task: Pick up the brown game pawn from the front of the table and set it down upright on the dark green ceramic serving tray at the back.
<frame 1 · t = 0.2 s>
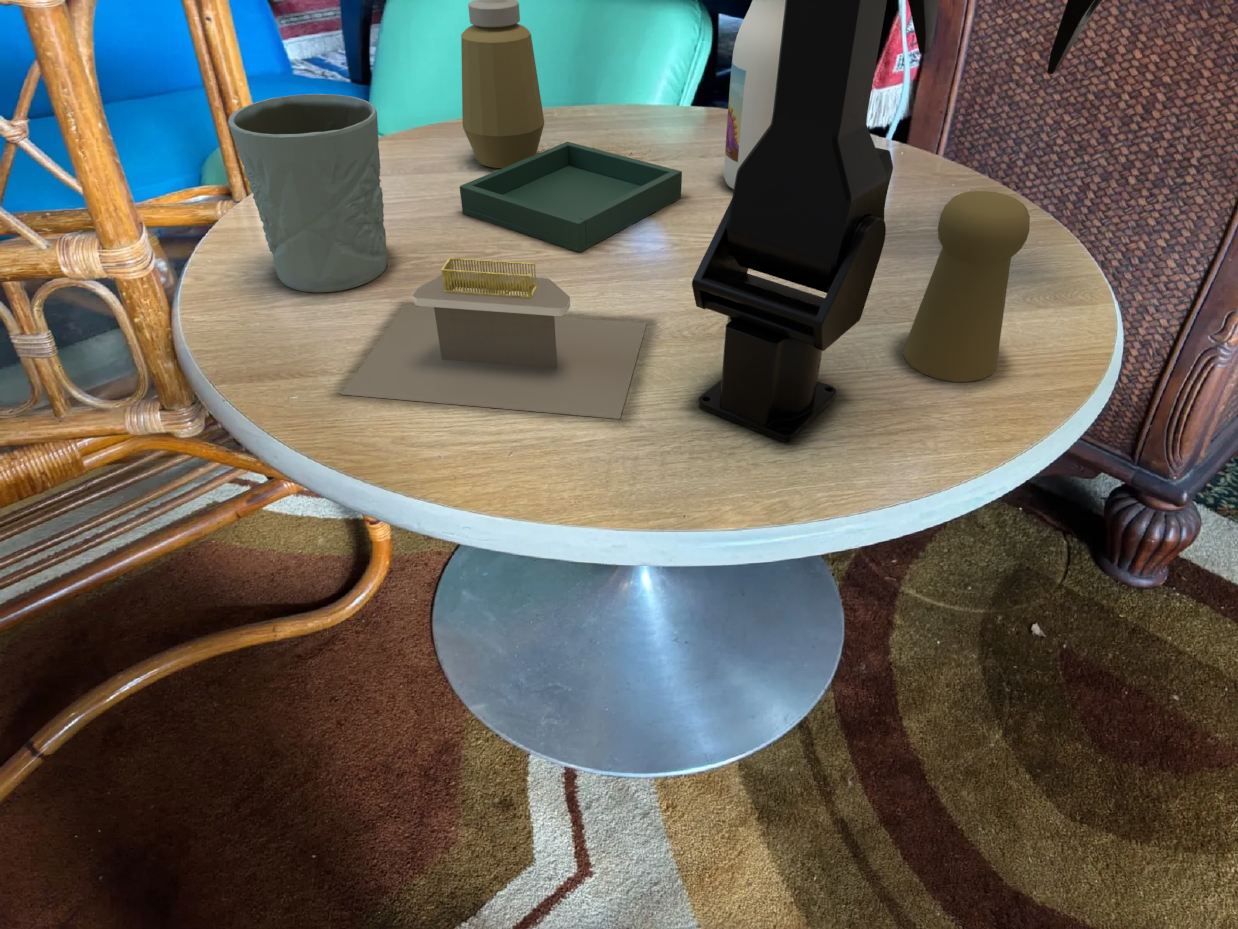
hand: (985, 62, 64), 14 cm above the table, tool pointing down, fingers open, 9 cm apart
serving tray: (573, 205, 81), on the table
brown game pawn: (948, 360, 60), on the table
squeeze bottle: (506, 161, 90), on the table
platform: (502, 359, 61), on the table
embossed green cup: (337, 269, 71), on the table
milk bottle: (763, 185, 85), on the table
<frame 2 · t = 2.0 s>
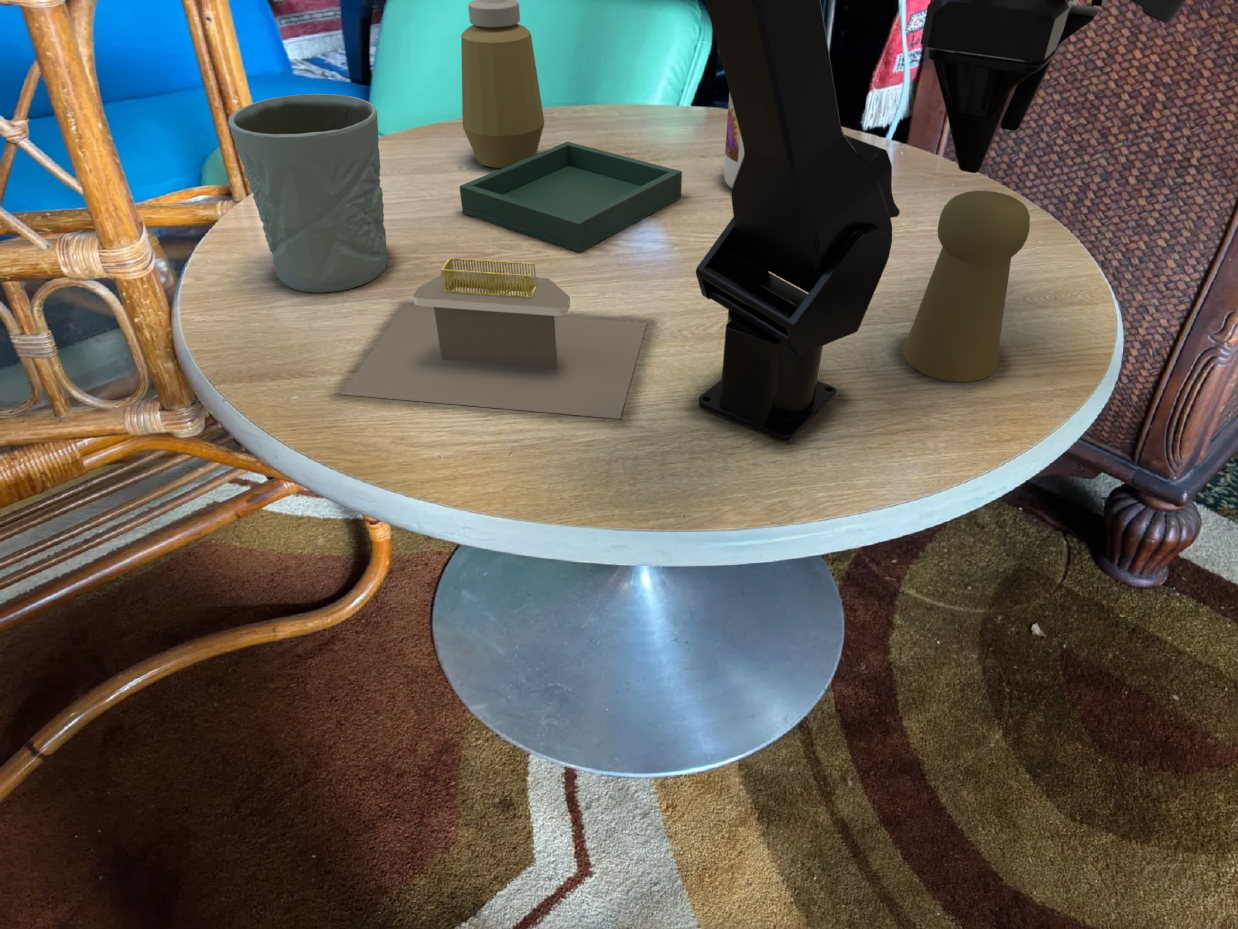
hand: (990, 149, 56), 12 cm above the table, tool pointing down, fingers open, 9 cm apart
nothing on the table moved.
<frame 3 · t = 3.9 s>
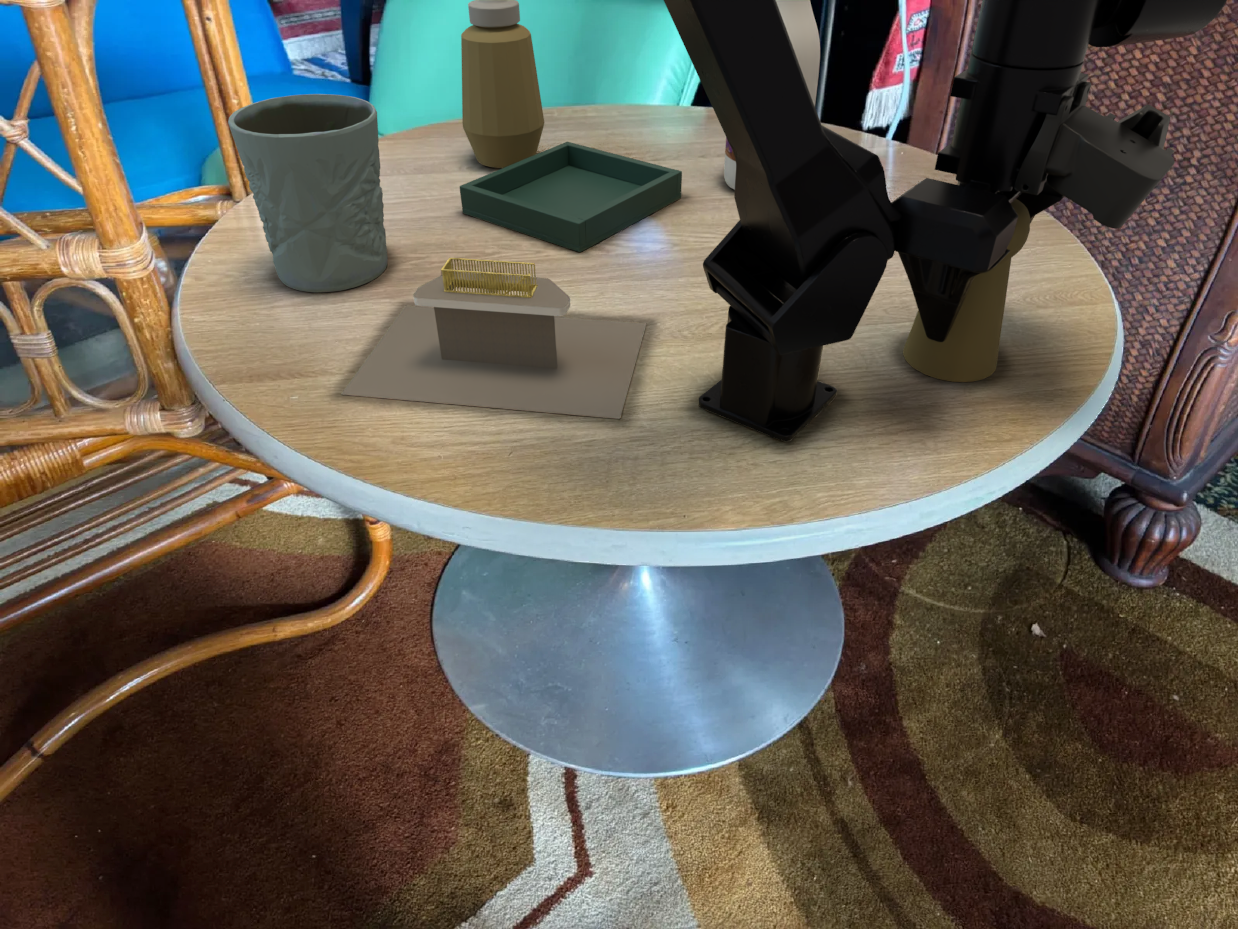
hand: (960, 313, 58), 3 cm above the table, tool pointing down, fingers closed on brown game pawn, 8 cm apart
brown game pawn: (948, 360, 60), on the table, touching gripper
everything else where it was.
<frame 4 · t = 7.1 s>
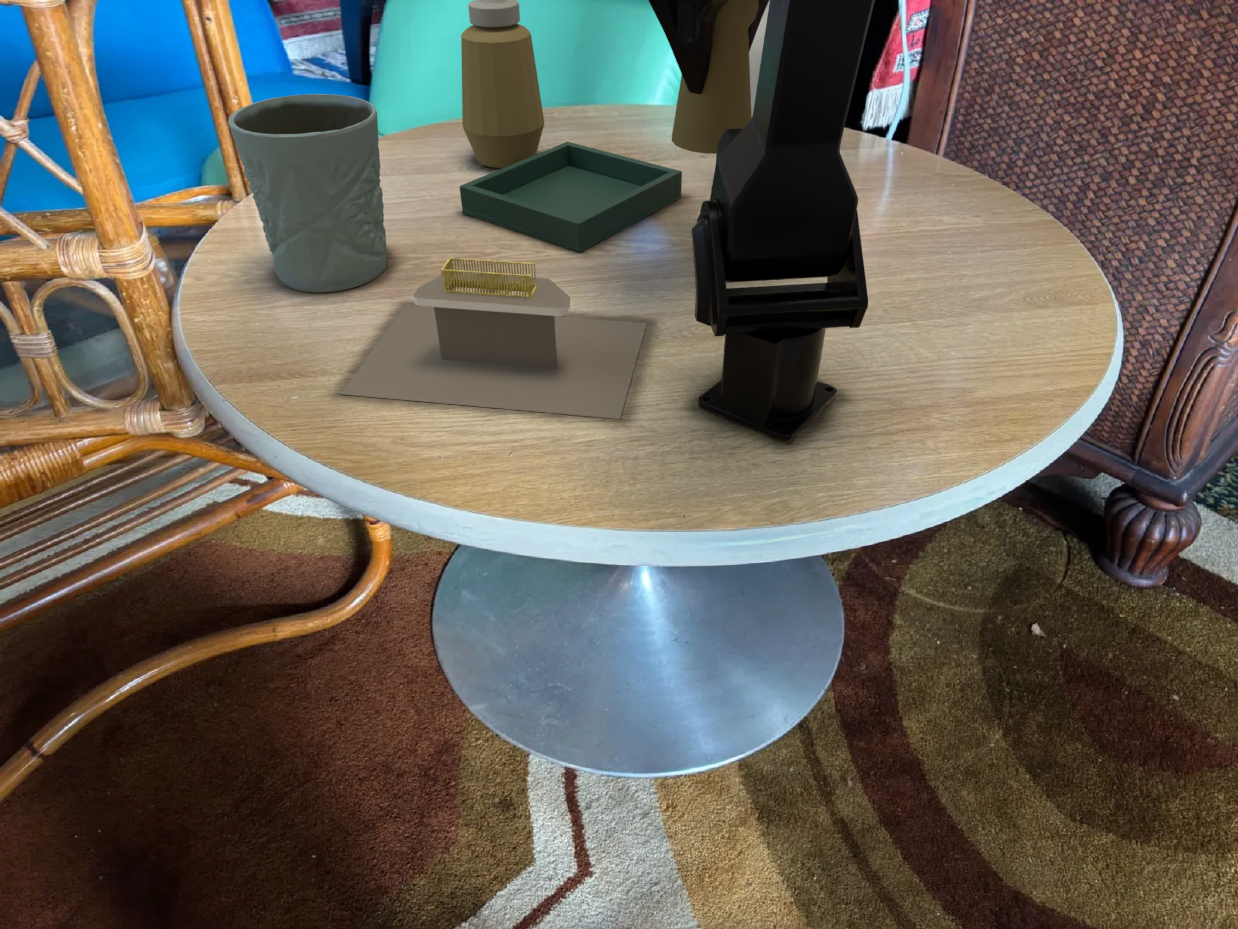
hand: (714, 85, 64), 13 cm above the table, tool pointing down, fingers closed on brown game pawn, 4 cm apart
brown game pawn: (711, 141, 67), point 9 cm above the table, touching gripper
everything else where it was.
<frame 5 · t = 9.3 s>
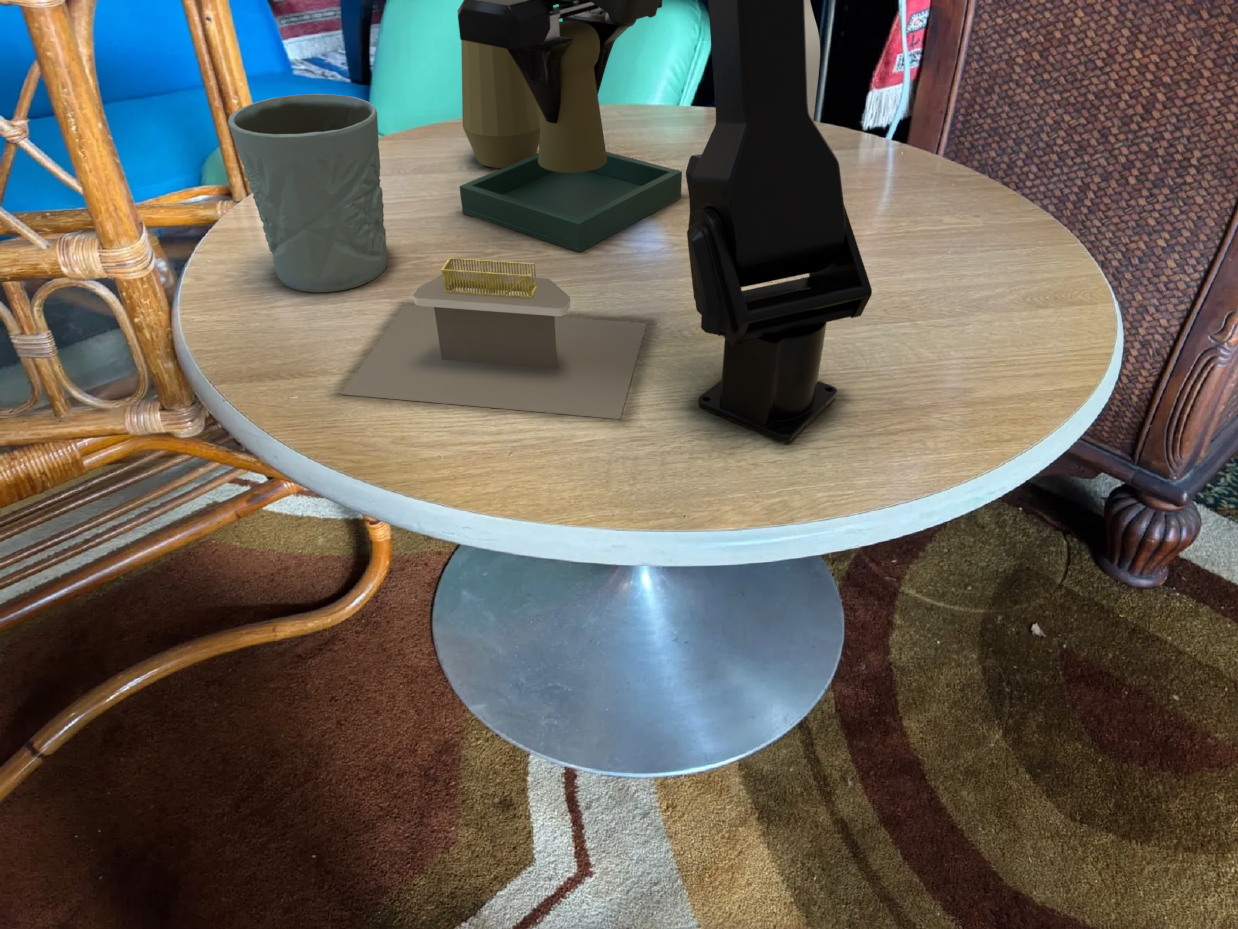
hand: (570, 115, 76), 8 cm above the table, tool pointing down, fingers closed on brown game pawn, 4 cm apart
brown game pawn: (572, 162, 78), point 4 cm above the table, touching gripper
everything else where it was.
when the fingers open (4 cm above the table, at t = 10.5 s): brown game pawn stays where it is, resting on serving tray.
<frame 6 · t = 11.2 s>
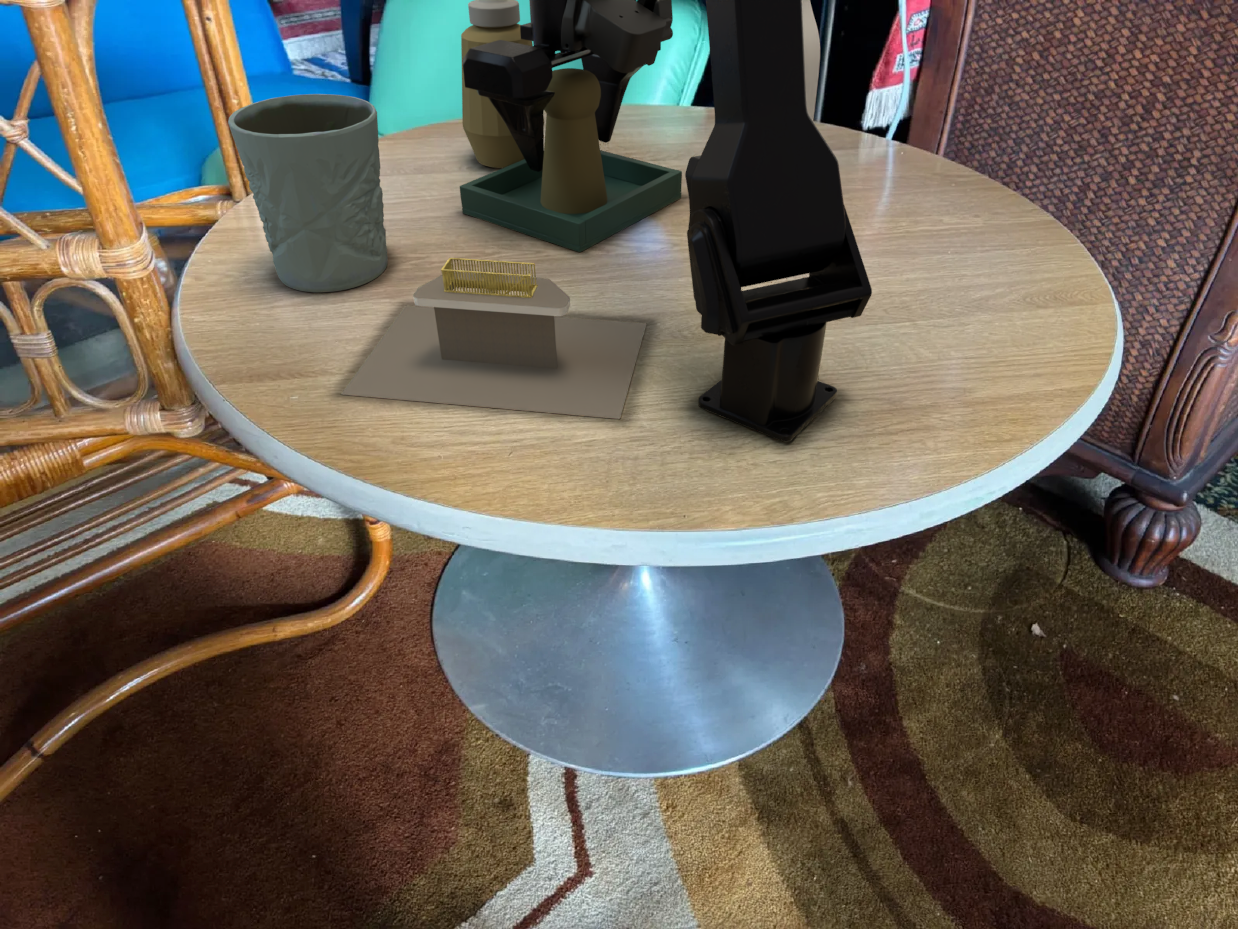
hand: (571, 155, 78), 5 cm above the table, tool pointing down, fingers open, 9 cm apart
brown game pawn: (574, 202, 81), resting on serving tray
everything else where it was.
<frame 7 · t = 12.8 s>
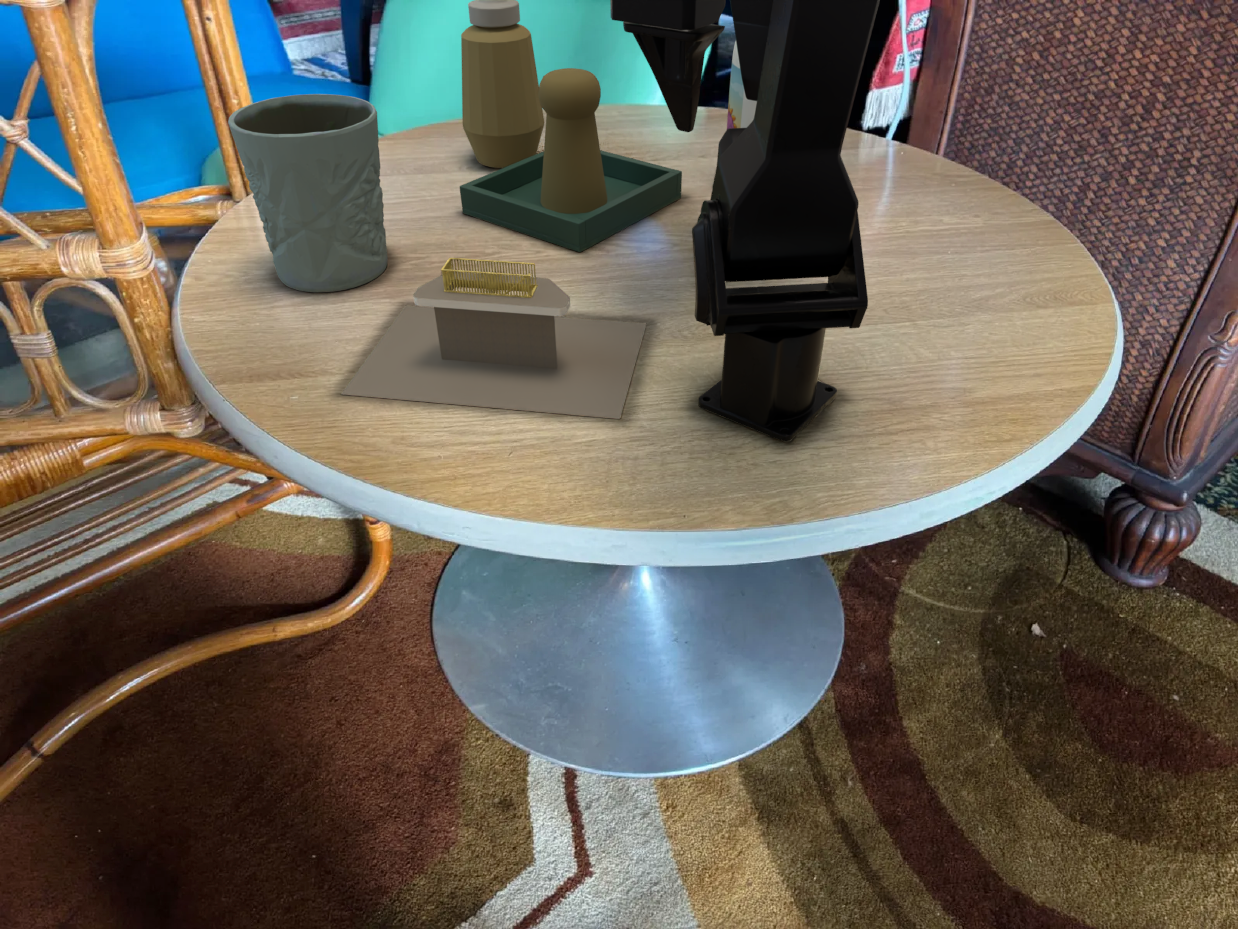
hand: (720, 114, 64), 12 cm above the table, tool pointing down, fingers open, 9 cm apart
nothing on the table moved.
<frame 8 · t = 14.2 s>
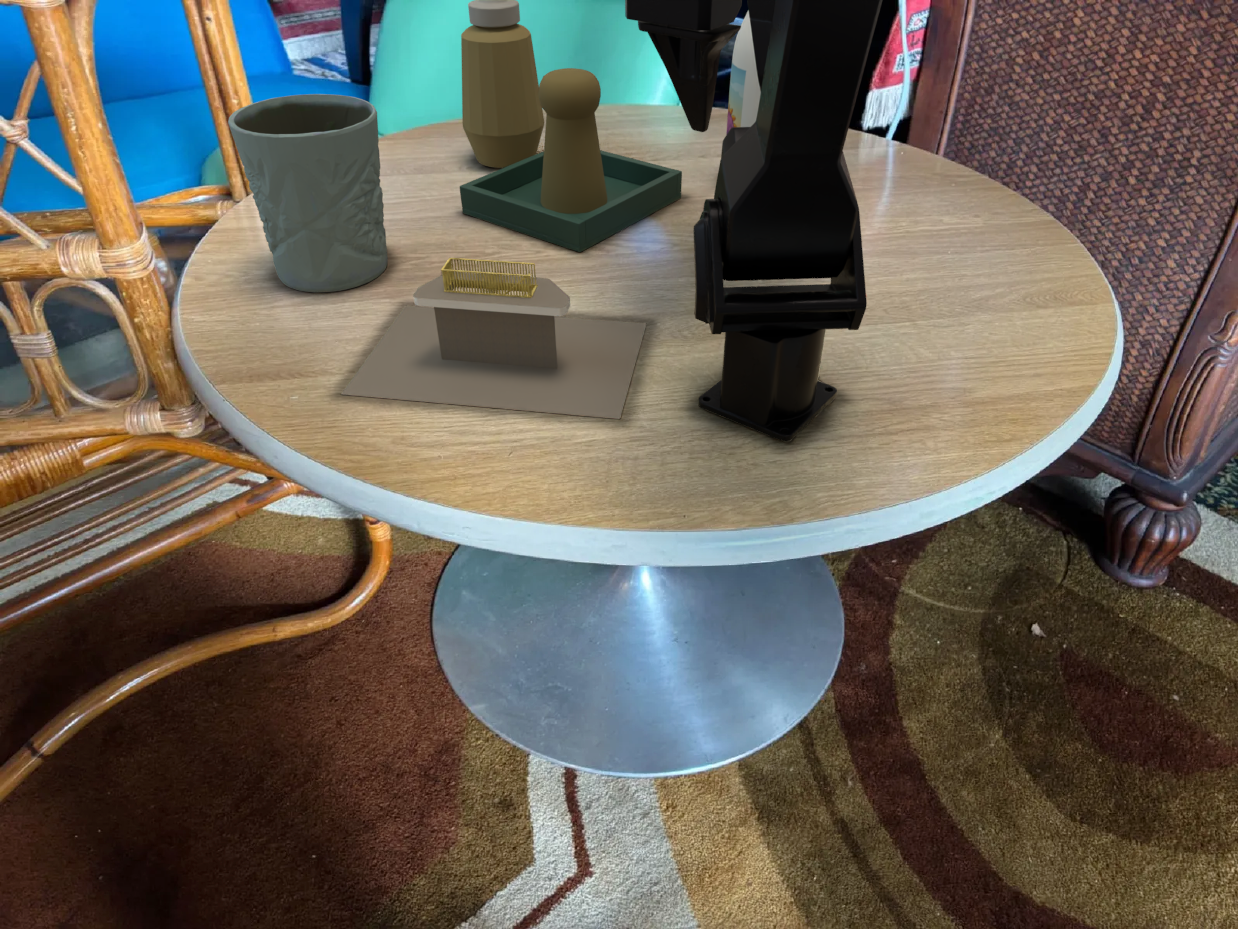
hand: (735, 113, 63), 12 cm above the table, tool pointing down, fingers open, 9 cm apart
nothing on the table moved.
at the end: brown game pawn inside the target area in the serving tray (0.1 cm from its centre), point 0.3 cm above the serving tray's base; brown game pawn tilted 0°; the gripper is holding nothing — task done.
